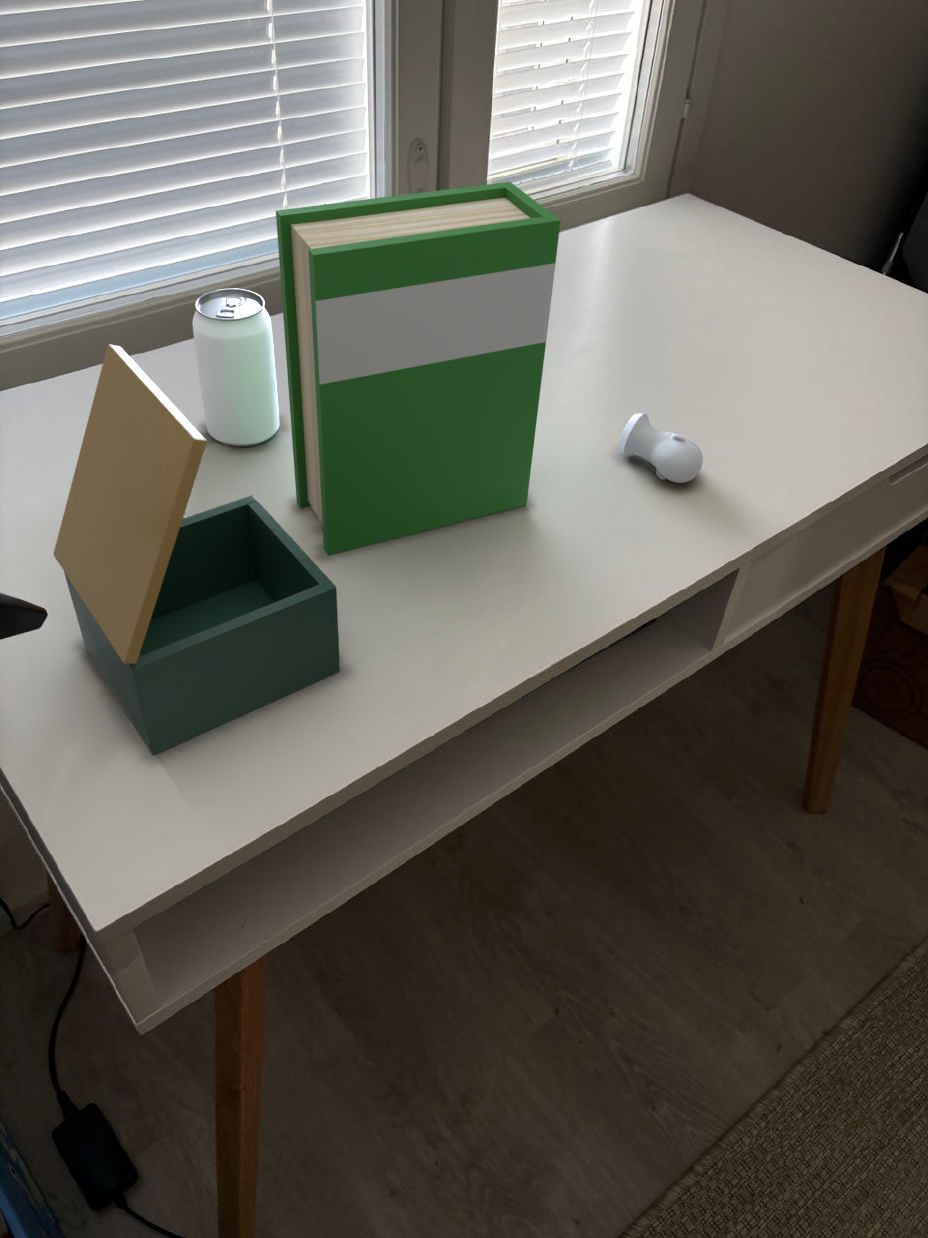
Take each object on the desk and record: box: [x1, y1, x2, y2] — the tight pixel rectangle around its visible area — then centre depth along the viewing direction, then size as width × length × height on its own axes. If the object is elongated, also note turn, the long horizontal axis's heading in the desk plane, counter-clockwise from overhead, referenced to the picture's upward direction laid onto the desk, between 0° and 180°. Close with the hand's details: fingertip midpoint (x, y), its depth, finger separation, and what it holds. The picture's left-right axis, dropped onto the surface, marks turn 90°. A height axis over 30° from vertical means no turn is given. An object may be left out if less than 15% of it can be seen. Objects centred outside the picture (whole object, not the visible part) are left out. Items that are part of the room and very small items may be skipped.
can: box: [192, 288, 280, 448], centre depth 87 cm, size 6×6×12 cm
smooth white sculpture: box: [618, 412, 704, 484], centre depth 89 cm, size 4×8×5 cm
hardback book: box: [275, 181, 561, 556], centre depth 76 cm, size 18×7×24 cm, turn 116°
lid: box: [52, 343, 208, 664], centre depth 58 cm, size 14×12×1 cm
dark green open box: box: [63, 495, 341, 756], centre depth 67 cm, size 14×12×8 cm
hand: (18, 569), depth 56 cm, fingers open, 9 cm apart
